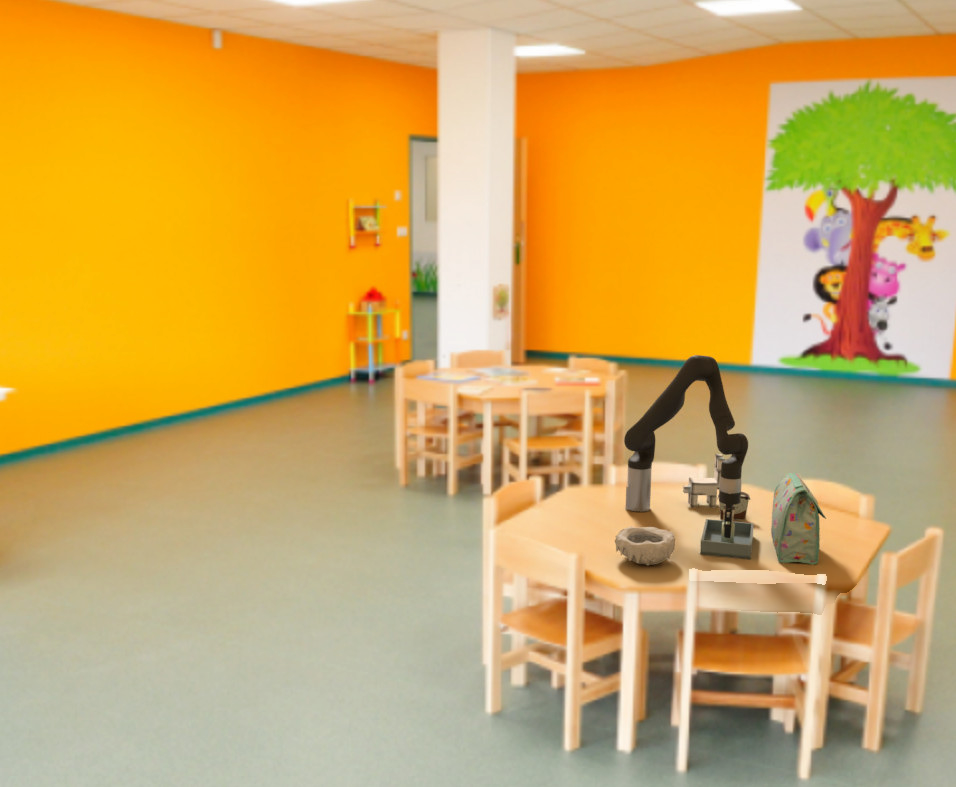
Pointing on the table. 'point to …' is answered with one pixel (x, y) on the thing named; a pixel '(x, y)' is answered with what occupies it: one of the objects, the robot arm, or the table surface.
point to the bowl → (645, 544)
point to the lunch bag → (795, 522)
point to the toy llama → (705, 485)
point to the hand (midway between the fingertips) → (727, 534)
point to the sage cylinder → (731, 539)
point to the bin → (717, 548)
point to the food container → (737, 507)
